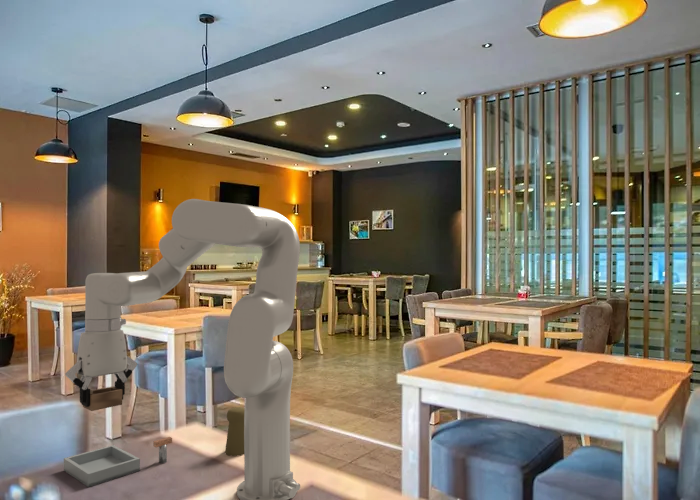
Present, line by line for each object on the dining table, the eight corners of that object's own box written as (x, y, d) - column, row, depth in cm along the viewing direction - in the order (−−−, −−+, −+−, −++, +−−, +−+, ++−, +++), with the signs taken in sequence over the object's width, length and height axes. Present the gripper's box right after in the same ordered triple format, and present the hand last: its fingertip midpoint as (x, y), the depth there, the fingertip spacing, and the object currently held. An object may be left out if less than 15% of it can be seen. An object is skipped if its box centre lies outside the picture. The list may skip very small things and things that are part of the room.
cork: (235, 457, 131) (235, 413, 131) (220, 452, 135) (219, 408, 135) (254, 450, 136) (254, 407, 136) (238, 445, 139) (238, 403, 139)
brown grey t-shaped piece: (172, 460, 129) (172, 438, 129) (156, 465, 126) (156, 442, 126) (168, 458, 131) (168, 436, 131) (152, 463, 127) (152, 441, 128)
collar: (113, 400, 128) (113, 383, 128) (122, 404, 125) (122, 386, 125) (82, 407, 123) (82, 388, 123) (91, 411, 120) (91, 392, 120)
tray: (139, 470, 123) (139, 458, 123) (88, 487, 115) (88, 474, 115) (113, 456, 132) (113, 444, 132) (63, 470, 124) (63, 458, 124)
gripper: (131, 321, 133) (131, 392, 133) (56, 328, 120) (56, 407, 120) (146, 323, 128) (146, 397, 128) (69, 331, 115) (69, 413, 115)
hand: (102, 401), depth 124 cm, fingers closed on collar, 7 cm apart
